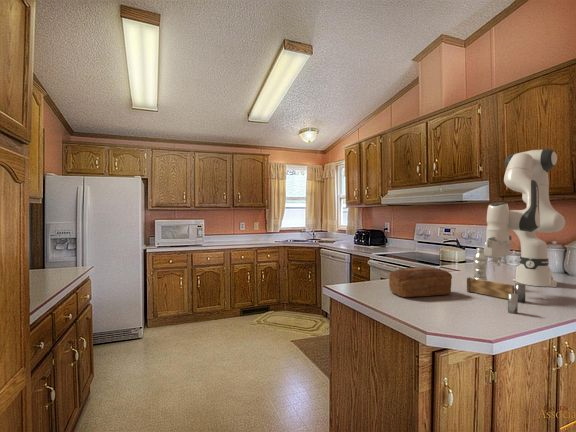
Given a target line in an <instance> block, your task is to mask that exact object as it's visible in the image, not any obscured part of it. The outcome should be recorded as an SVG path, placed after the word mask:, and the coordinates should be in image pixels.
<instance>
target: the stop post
mask: <svg viewBox="0 0 576 432" xmlns="http://www.w3.org/2000/svg"><path fill="white" fill-rule="evenodd" d="M518 305H519V304H518V295H517V294H515V293H514V294H513V293H508V299H507V312H508V313H509V314H514V315H517V314H518V311H519V310H518V309H519V307H518Z"/></svg>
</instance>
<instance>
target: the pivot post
mask: <svg viewBox="0 0 576 432" xmlns="http://www.w3.org/2000/svg"><path fill="white" fill-rule="evenodd" d="M514 294H517V295H518V303H519V304H526V284H521V283H518V282H516V283H515V284H514Z"/></svg>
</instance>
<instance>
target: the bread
mask: <svg viewBox="0 0 576 432" xmlns="http://www.w3.org/2000/svg"><path fill="white" fill-rule="evenodd" d="M388 278H389V279H388V285H389V291H390V292H391V293H393V294H394V295H396V296H397V297H398V296H399V297H402V298H414V297H430V296H447V295H450V293H452V279H453V276H452V274H451V273H450V272H448V271H447V270H444V269H440V268H437V267H428V266H423V267H422V266H415V267H413V266H412V267H406V268H405V267H404V268H400V269H399V268H398V269H396V270H394V271H392V272H391V273H390V274H389V275H388Z"/></svg>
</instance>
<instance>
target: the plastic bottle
mask: <svg viewBox="0 0 576 432" xmlns="http://www.w3.org/2000/svg"><path fill="white" fill-rule="evenodd" d="M475 252H476V253H475V254H474V255H473V264H474V265H473V268H474V272H473V278H472V279H479V280H485V281H488V277H487V268H488V267H487V266H488V260H489V258H488V257H485V256H484V247H476V250H475Z"/></svg>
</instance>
